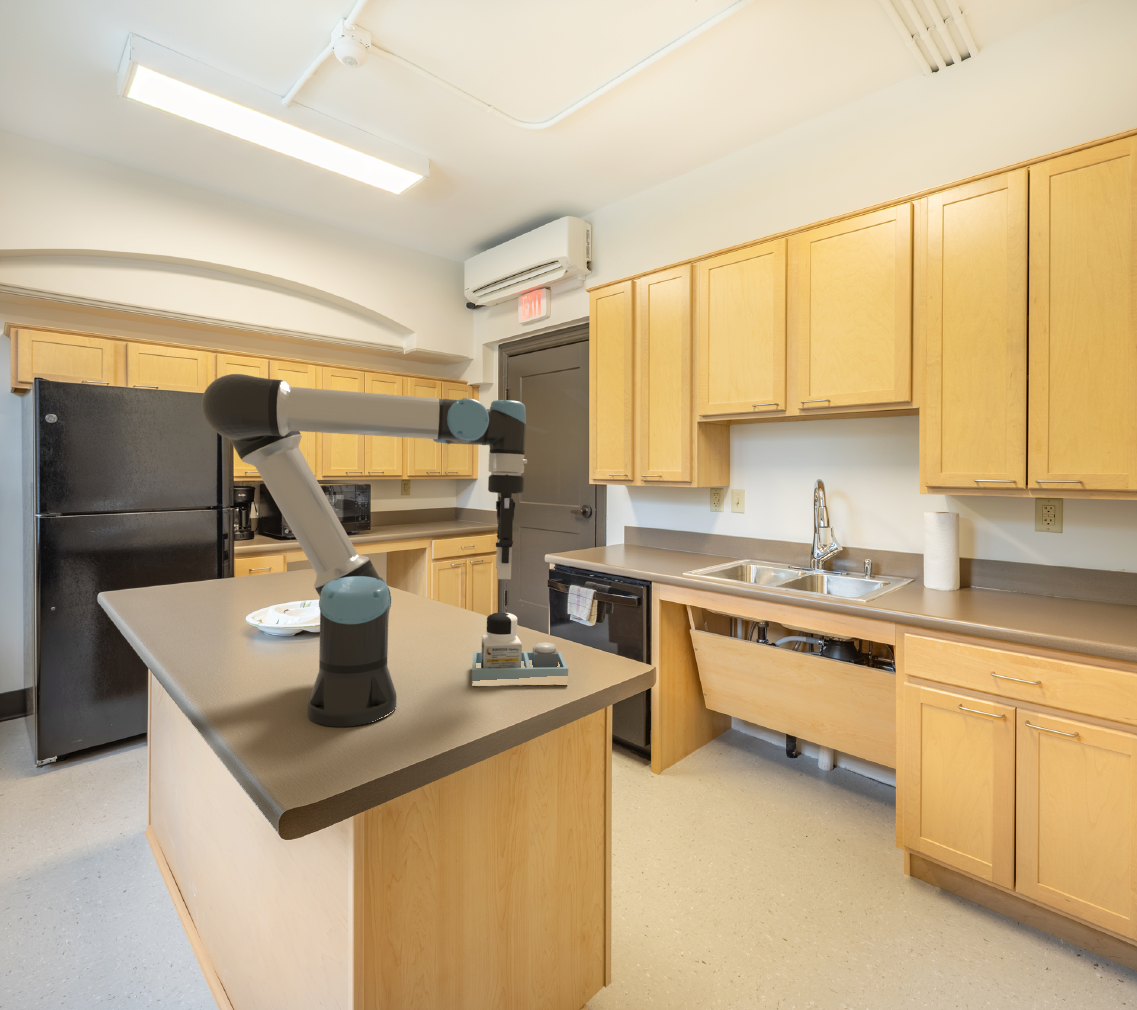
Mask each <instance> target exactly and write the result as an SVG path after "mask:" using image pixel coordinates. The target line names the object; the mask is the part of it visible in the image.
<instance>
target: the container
mask: <svg viewBox="0 0 1137 1010" xmlns="http://www.w3.org/2000/svg"><path fill="white" fill-rule="evenodd" d="M485 633H486V634H482V635H481V651H480V652H481V668H521V659H522V652H523V644H522V641H521V640H520V638H519V637H518V617H517V616H516V615H515V614H513V613H510V612H495V613H492V614H489V615H488V616H487V618H486V632H485Z"/></svg>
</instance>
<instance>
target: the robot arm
mask: <svg viewBox="0 0 1137 1010" xmlns="http://www.w3.org/2000/svg"><path fill="white" fill-rule="evenodd" d="M201 411H202V415H203V417H204V419H205V421H206V423H207V424H208V426H210V428H211V429H212V430H213V431H214V432H216V433H217V434H219V435H220V436H222V437H224V438H227V439H228V440H229V441H230V443H231V445H232V446H233V448H234V450H235V451H236V453H237V455H238V456H239V458H240V460H241V462H243V463H246V464H248V465H251V466H253V467H255V470H257V473H258V474H259V476H260V478H261V479H262V482H263V483H264V485H265V487H266V489H267V490H268V492H269V493H270V495H271V497H272V499H273V501H274V502H275V505H276V506H277V507H278V509H279V511H280V513H281V514H282V516H283V519H284V520H285V521H286V523H287V526H288V527H289V529H290V531H291V532H292V533H293V535H294V537H295V539H296V541H297V542H298V545H299V546H300V548H301V549H302V551H303V553H304V554H305V557H306V558H307V560H308V561H309V564H310V565H311V567H312V568H313V571H314V572H315V574H316V579H315V580H314V584H313V588H314V589H315V591H316V593H317V595H318V596H319V601H318V607H319V611H320V612H319V651H318V652H319V660H318V663H319V666H318V667H319V668H318V674H317V676H316V679H315V682H314V685H313V687H312V690H311V693H310V694H309V699H308V701H307V716H308V719H310V721H312V722H314V723H316V724H319V725H322V726H327V727H338V728H339V727H340V728H342V727H355V726H354V725H357V726H362V725H361V724H363V725H367V724H366V723H368V724H370V723H369V722H372V721H375V720H377V719H379V718H381V717H384V716H385V715H387V714H389V713H390V712H392V711H393V710H394V709H395V707H396V708H397V692H396V689H395V685H394V682H393V679H392V676H391V673H390V669H389V667H388V654H389V653H388V652H389V651H388V649H389V620H390V619H389V618H390V617H389V615H390V610H391V608H392V607H391V606H392V595H391V590H390V587H389V586H388V584H387V582H386V581H385V580H384V579H383V578H382V577H381V576H380V575H379V573H378V571H377V570H376V568H375V566H374V565H373V563H372V561H371V558H369V557H368V556H366V555H363V554H359V553H358V552H357V550H356V548H355V546H354V544H353V543H352V541H351V539H350V538H349V535H348V534H347V532H346V530H345V528H344V526H343V525H342V523H341V521H340V519H339V517H338V516H337V513H336V512H335V510H334V508H333V507H332V505H331V503H330V501H329V499H328V497H327V496H326V494H325V493H324V490H323V488H322V487H321V485H320V483H319V481H318V480H317V478H316V475H315V474H314V471H312V469H311V466H310V465H309V463H308V462H307V460H306V458H305V456H304V455H303V452H302V451H301V449H300V443H301V440H302V438H303V435H302V434H301V432H305V433H306V432H307V433H321V434H340V435H356V436H357V435H359V436H375V437H378V436H379V437H395V438H396V437H397V438H410V439H427V440H433V441H434V443H438V444H439V443H441V444H446V445H451V444H452V445H454V444H455V445H475V446H476V445H478V446H480V445H481V446H489V453H488V472H489V473H491V474H490V475H489V476H488V486H487V487H488V488H487V490H488V492H490V493H493V494H494V493H496V494H499V496H498V500H497V501H495V509H496V518H497V531H496V538H497V539H496V542H495V548H496V559H495V562H496V563H495V568H496V569H497V580H512V561H513V560H512V559H513V558H512V556H513V544H514V540H513V523H514V522H513V521H514V519H515V518H514V517H515V510H516V509H515V508H516V502H515V501H514V498H513V497H512V496H513V495H512V494H522V493H524V488H525V486H524V485H525V477H524V476H522V474H524V472H525V465H526V464H528V459H527V458H526V459H524V458H525V451H526V450H525V449H526V429H527V412H526V411H527V409H526V406H525V404H524V403H522V402H521V401H517V400H512V399H511V400H510V399H509V400H507V399H506V400H505V399H501V400H500V399H496V400H493V401H491V403H490V407H489V408H487V409H486V407H485V406H484V404H483V403H482V402H480V401H479V400H476V399H475V398H474V399H473V398H467V397H466V398H460V399H451V398H450V399H448V398H437V397H426V396H425V397H423V396H410V395H401V394H400V395H399V394H387V393H386V394H385V393H375V392H373V393H371V392H362V391H359V392H358V391H348V390H347V391H346V390H337V389H336V390H335V389H325V388H324V389H322V388H311V387H309V388H308V387H298V386H297V387H296V386H292V385H290V383H288V382H287V381H286V380H285V379H274V378H273V379H272V378H265V377H259V376H253V375H248V374H242V373H241V374H240V373H233V374H232V373H231V374H226V375H223V376H220V377H218V378H216V379H214V380H213V381H212V382H211V383H210V384H209V385H208V386H207V387H206V389H205V390H204V392H203V395H202V398H201ZM395 710H396V709H395ZM375 722H376V721H375ZM372 723H373V722H372Z"/></svg>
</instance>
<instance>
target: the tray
mask: <svg viewBox="0 0 1137 1010" xmlns="http://www.w3.org/2000/svg"><path fill="white" fill-rule="evenodd" d="M529 660H532V665H533V668H531V667H530V663H529ZM521 661H524V666H525V668H476V663H481V651H473V652H472V661H471V663H472V664H471V665H472V667H471V682H472V681H480V680H497V679H519V678H530V677H547V676H568V677H569V667H568V664H567V663H566V660H565V658H564V656H563V653H562V651H560V650H559V651H558V650H557V649H556V644H555V643H553V642H545V641H544V642H538V643H536V644H535V645H534V646H533V647H532V651H522V659H521ZM558 662H559V664H560V667H557V666H558Z"/></svg>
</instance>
